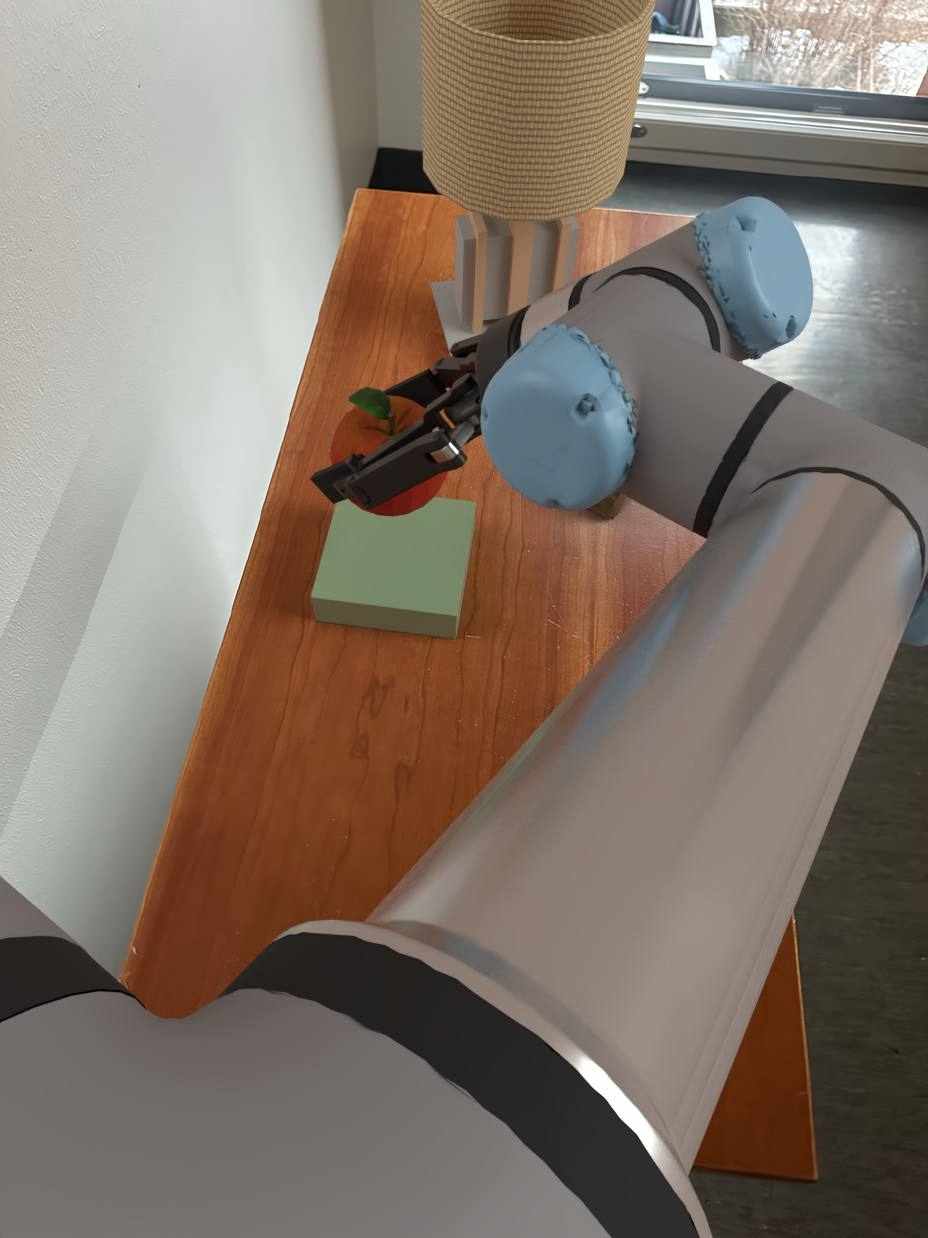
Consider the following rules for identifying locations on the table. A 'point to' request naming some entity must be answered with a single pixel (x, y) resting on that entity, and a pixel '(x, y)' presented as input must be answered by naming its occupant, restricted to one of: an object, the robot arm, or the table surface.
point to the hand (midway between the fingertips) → (357, 446)
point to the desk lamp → (524, 138)
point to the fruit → (382, 443)
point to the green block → (396, 568)
